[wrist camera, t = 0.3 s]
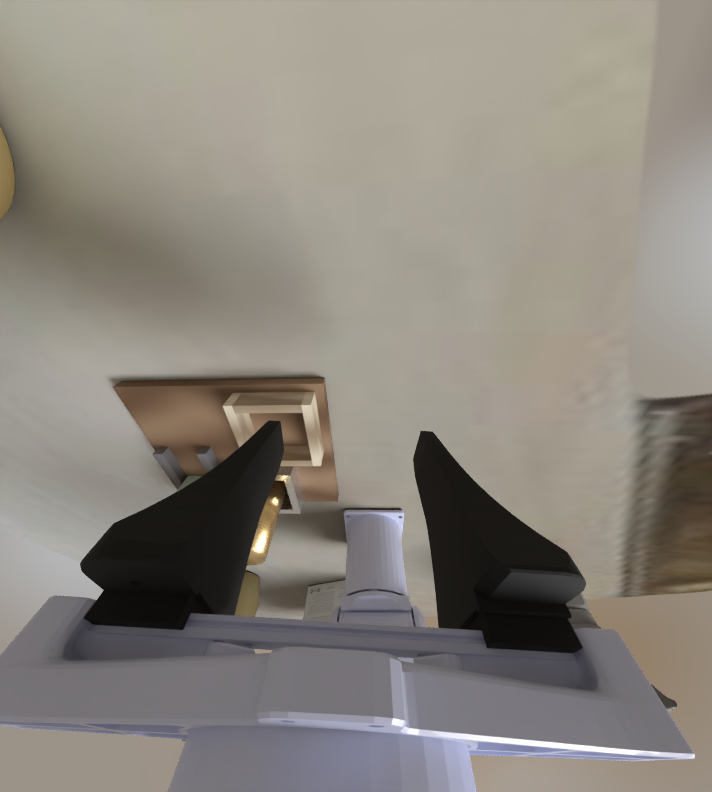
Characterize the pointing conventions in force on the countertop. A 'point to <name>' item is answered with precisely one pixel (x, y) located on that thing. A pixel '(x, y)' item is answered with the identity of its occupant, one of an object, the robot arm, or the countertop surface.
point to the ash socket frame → (278, 403)
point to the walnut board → (222, 426)
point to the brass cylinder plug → (267, 524)
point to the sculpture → (5, 176)
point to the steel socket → (291, 490)
